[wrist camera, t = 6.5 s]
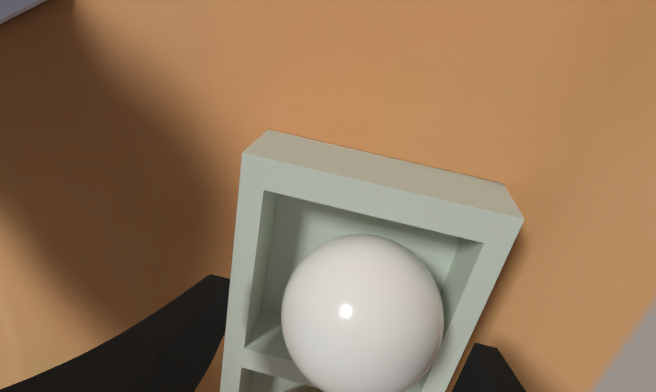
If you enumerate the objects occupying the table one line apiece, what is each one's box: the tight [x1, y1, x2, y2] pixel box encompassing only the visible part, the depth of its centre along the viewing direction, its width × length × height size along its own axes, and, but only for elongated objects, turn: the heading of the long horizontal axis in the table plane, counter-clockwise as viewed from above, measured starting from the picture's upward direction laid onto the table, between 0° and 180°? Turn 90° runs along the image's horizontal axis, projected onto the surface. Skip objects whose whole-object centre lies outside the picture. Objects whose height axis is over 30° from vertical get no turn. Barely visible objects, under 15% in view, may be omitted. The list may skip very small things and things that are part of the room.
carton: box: [220, 130, 524, 392], centre depth 16 cm, size 16×8×2 cm, turn 170°
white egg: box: [281, 233, 444, 392], centre depth 13 cm, size 5×5×5 cm
